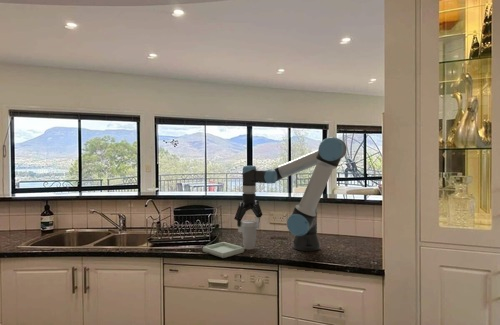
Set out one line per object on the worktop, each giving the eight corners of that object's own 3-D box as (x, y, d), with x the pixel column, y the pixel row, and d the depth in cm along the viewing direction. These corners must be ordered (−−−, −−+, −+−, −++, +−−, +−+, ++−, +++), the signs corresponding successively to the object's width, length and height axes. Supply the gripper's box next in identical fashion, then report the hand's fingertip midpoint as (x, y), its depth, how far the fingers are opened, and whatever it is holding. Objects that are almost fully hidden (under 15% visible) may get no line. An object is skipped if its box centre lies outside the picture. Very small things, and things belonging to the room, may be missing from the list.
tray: (244, 252, 176) (244, 247, 176) (223, 258, 165) (223, 253, 165) (223, 246, 188) (223, 241, 188) (202, 251, 177) (202, 246, 177)
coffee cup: (260, 246, 186) (260, 220, 186) (253, 251, 177) (253, 223, 177) (245, 245, 190) (245, 219, 190) (237, 249, 181) (237, 222, 181)
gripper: (259, 190, 195) (258, 226, 195) (228, 194, 177) (227, 232, 177) (268, 191, 189) (268, 228, 190) (237, 195, 172) (237, 235, 172)
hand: (248, 230), depth 184 cm, fingers open, 13 cm apart
